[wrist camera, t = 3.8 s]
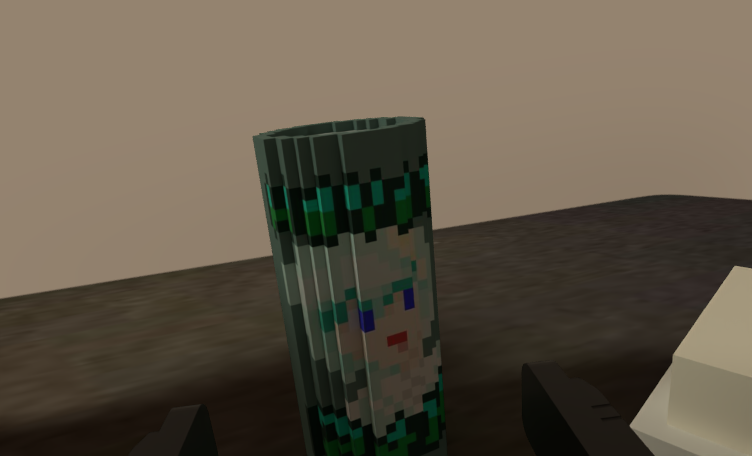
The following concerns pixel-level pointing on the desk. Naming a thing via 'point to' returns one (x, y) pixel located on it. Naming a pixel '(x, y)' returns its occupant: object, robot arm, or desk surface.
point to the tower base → (707, 382)
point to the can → (357, 283)
